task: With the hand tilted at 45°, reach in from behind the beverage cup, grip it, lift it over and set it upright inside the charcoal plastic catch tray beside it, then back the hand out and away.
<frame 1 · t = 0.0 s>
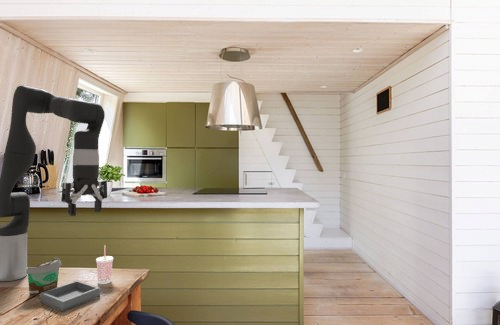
hand: (85, 213, 102), 29 cm above the table, tool pointing down, fingers open, 8 cm apart
catch tray: (70, 299, 105), on the table
beverage cup: (104, 282, 121), on the table
food container: (48, 291, 112), on the table
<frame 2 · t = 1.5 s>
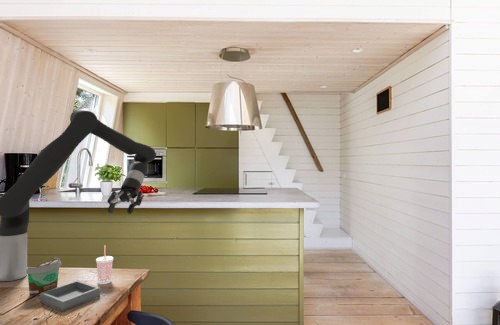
hand: (119, 212, 131), 25 cm above the table, tool tilted 45°, fingers open, 8 cm apart
nothing on the table moved.
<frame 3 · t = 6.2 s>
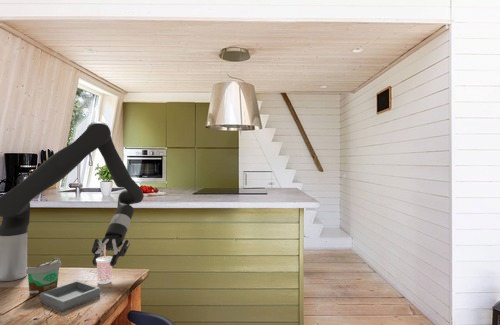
hand: (103, 264, 120), 7 cm above the table, tool tilted 45°, fingers closed on beverage cup, 6 cm apart
beverage cup: (104, 282, 121), on the table, touching gripper
everything else where it was.
when the fingers open (9 cm above the table, at t = 11.9 s): beverage cup drops 1 cm, resting on catch tray.
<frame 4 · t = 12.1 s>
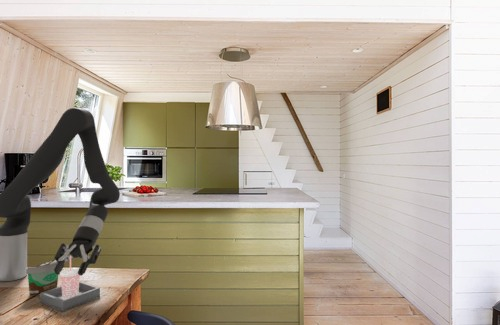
hand: (68, 274, 104), 9 cm above the table, tool tilted 45°, fingers open, 7 cm apart
beverage cup: (70, 298, 105), resting on catch tray
everything else where it was.
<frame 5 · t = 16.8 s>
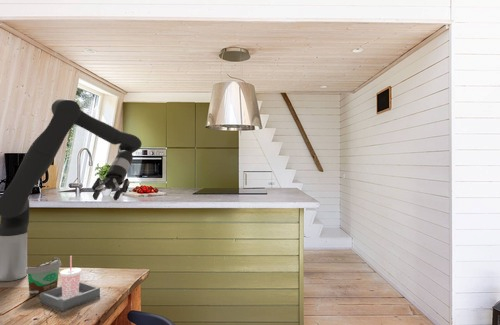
hand: (104, 199, 129), 31 cm above the table, tool tilted 45°, fingers open, 8 cm apart
nothing on the table moved.
at the end: beverage cup inside the target area on the catch tray (0.2 cm from its centre), point 0.4 cm above the catch tray's base; beverage cup tilted 0°; the gripper is holding nothing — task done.
